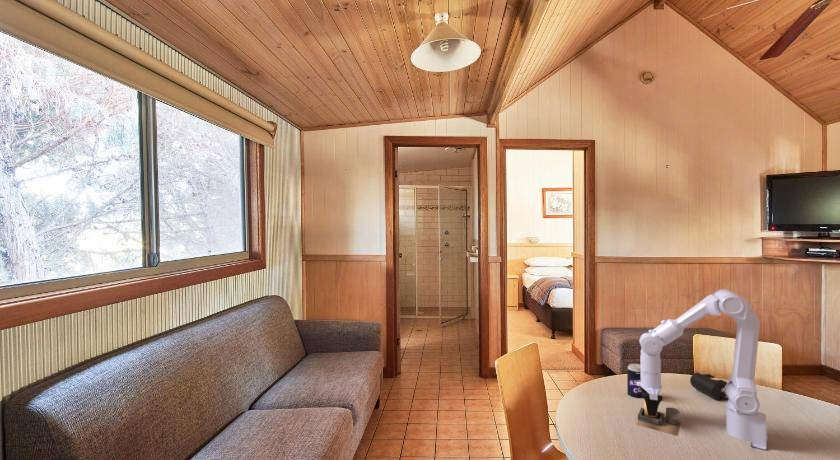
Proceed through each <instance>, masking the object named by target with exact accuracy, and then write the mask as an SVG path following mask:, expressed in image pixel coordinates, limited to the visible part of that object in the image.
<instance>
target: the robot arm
mask: <svg viewBox="0 0 840 460" xmlns="http://www.w3.org/2000/svg"><path fill="white" fill-rule="evenodd" d="M721 312H722V313H721ZM722 314H724V315H726V316H728V317H731V319H733V320H734V321H735V322H736V323H737V324H736V332H735V333H736V334H735V343H734V353H733V355H734V356H733V362H732V373H731V374H730V375H729V377H728V381H727V384H726V386H725V388H724V389H723V390H724V391H725V394H726V395H727V396H726V397H727V398H728V400H727V401H726V404H725V427H726V428H725V429H726V431H725V432H726V433H727V434H728V435H729V436H731V437H733V438H735V439H737V440H741V441H745V442H750V447H754V448H757V449H760V450H765V451H766V450H767V441H768V440H769V438H768V437H769V435H768V432H767V430H768V429H767V414H766V413H764V412H760V411H759V409H760V407H761V403H760V401H759V399H758V397H757V396H758V395H757V394H758V390H757V386H756V384H755V383H756V382H755V375H756V367H757V366H756V365H757V357H758V347H759V346H758V345H759V336H760V328H761V322H760V318H759V317H758V316H757V314H756V313H755V312H754V310H753V308H752V306H751V305H750V302H748V301H746V300H745V299H744V298H742V297H741V296H739V295H738V294H736V293H735V292H734V291H731V290H730V289H725V288H723V289H718V290H716V291H715V292H714V293H713V294H709V295H707V296H706V297H705V298H703V299H702V300H701V301H699V302H698V303H697V304H695V305H694V306H693V307H691V308H689V309H688V310H687V311H685V312H684V313H683V314H682V315H680V316H679V317H677V318H676V319H672V318H671V319H670V318H667V320H665V319H663V320H661V321H660V324H659V325H658V326H656V327H655V328H653V329H649V330H648V332H645V333H643V334H642V335H640V338H639V339H638V341H639V344H640V348H641V349H640V356H639V357H640V360H639V361H640V369H641V382H637V386H640V389H641V390H642V396H643V398H642V399H644V400H645V402H646V407H647V412H648V415H650V416H656V414H657V411H659V410H658V409H659V406H660V403H662V401H663V396H662V395H660V394H659V393H660V392H661V391H662V389H663V388H662V387H663V386H662V365H661V364H662V362H661V361H662V359H661V353H662V350H663V348H664V347H665V346H667V345H669V344H670V343H672V342H673V341H675V340H677V339H678V338H680V337H681V336H683V335H684V331H685V329H686V328H688V327H689V326H691V325H693V324H695V323H696V322H698V321H700V320H701V319H703V318H705V317H706V316H710V315H711V316H722ZM724 391H723V392H724Z"/></svg>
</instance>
